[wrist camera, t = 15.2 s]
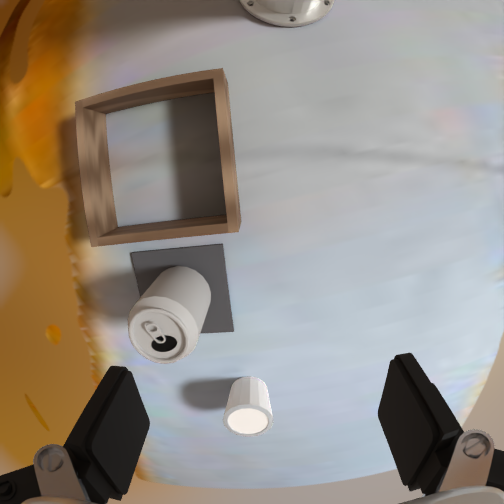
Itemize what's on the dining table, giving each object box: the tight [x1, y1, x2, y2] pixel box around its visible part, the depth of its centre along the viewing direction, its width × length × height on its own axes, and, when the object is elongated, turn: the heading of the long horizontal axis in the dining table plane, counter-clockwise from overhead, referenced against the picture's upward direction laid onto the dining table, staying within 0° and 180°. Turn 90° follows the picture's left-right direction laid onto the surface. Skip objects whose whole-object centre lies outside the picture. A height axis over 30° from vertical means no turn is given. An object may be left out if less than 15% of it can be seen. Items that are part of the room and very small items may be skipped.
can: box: [128, 266, 211, 364], centre depth 34 cm, size 8×8×12 cm
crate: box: [75, 68, 241, 247], centre depth 33 cm, size 17×17×6 cm
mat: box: [132, 244, 234, 333], centre depth 40 cm, size 12×12×1 cm
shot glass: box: [223, 376, 274, 437], centre depth 41 cm, size 7×7×7 cm
